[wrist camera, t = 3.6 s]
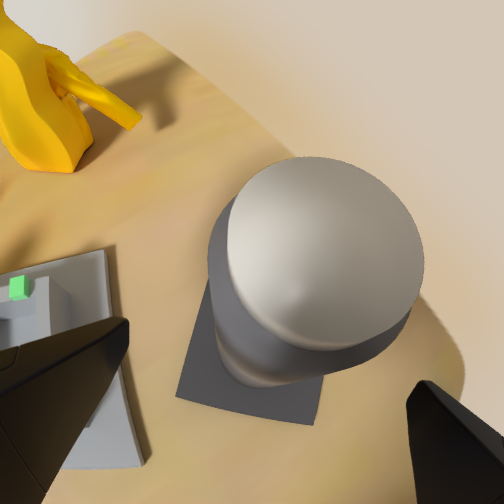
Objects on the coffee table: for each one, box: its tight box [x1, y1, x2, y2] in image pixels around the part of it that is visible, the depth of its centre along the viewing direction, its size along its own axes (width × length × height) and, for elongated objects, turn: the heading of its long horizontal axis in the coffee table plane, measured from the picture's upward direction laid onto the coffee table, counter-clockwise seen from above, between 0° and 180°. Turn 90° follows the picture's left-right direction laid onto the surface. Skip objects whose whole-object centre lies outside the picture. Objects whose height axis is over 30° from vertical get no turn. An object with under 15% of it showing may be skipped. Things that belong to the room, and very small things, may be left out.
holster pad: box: [175, 278, 323, 426], centre depth 17 cm, size 8×8×1 cm
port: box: [0, 249, 145, 470], centre depth 13 cm, size 14×14×4 cm
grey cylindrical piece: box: [207, 157, 424, 389], centre depth 11 cm, size 5×5×13 cm
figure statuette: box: [0, 0, 143, 173], centre depth 14 cm, size 18×8×22 cm, turn 81°
